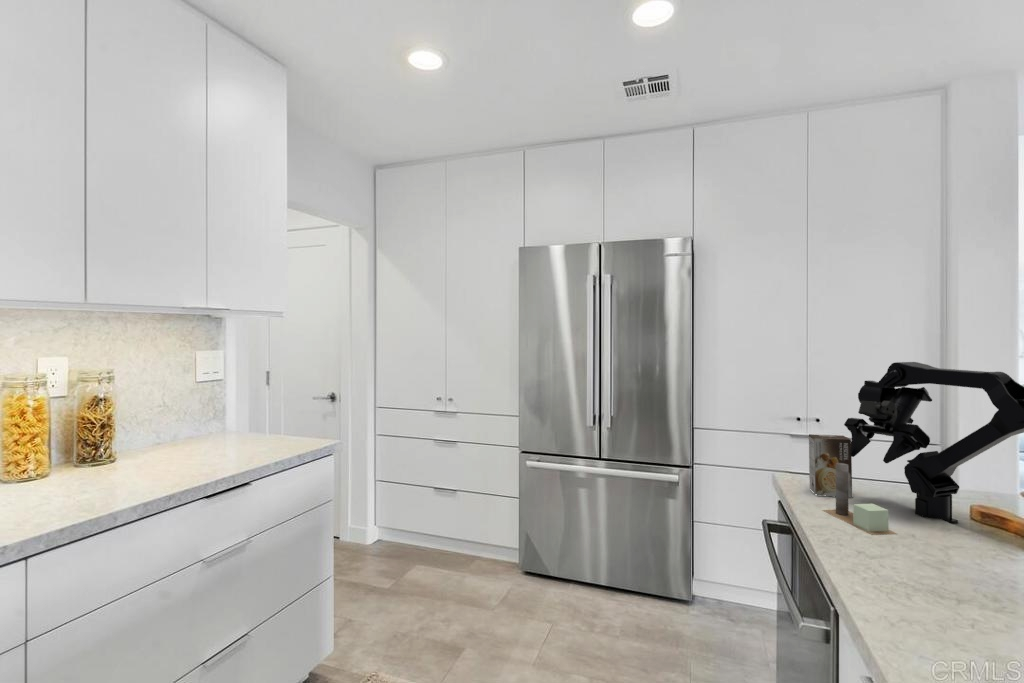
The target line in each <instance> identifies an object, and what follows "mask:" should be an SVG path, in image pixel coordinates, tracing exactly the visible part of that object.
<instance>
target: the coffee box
mask: <svg viewBox="0 0 1024 683" xmlns="http://www.w3.org/2000/svg"><path fill="white" fill-rule="evenodd" d="M851 441H852V438H851V439H850V438H849V437H847V436H845V435H836V434H835V435H834V434H811V433H809V434H808V464H809V465H808V470H809V490H810V489H811V490H812V491H813V492H814V494H817V495H826V496H836V463H844V464H848V498H849V499H852V498H853V469H852V468H853V467H852V466H853V464H852V463H853V462H852V460H853V457H852V456H851V455H850V448H851ZM811 490H810V491H811ZM814 494H813V495H814ZM826 496H825V497H826Z"/></svg>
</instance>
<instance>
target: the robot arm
mask: <svg viewBox="0 0 1024 683" xmlns="http://www.w3.org/2000/svg"><path fill="white" fill-rule="evenodd" d="M926 384H928V385H930V384H931V385H939V386H940V385H943V386H952V387H961V388H970V389H971V388H973V389H981V390H983V391H984V392H985V393H986V395H987V396H988V398H989V399H990V401H991V403H992V405H993V406H994V407H995V408H996V409H997V411H995V413H994V414H993V416H992V418H991V420H989V422H988V423H986V424H985V425H983V426H981V427H979V428H978V429H976V430H974V431H973V432H971V433H970V434H967V436H964V437H962V438H961V439H960V440H958V441H956V442H955V443H952V444H951V445H950V446H947V447H946V448H945V449H943V450H941V451H940V452H939V451H938V450H933V451H926V452H925V451H924V452H919V453H918V454H917V455H916V456H915V457H913V458H912V459H908V460H906V462H907V464H906V465H904V468H903V469H904V476H905V478H906V480H907V483H908V485H909V487H910V490H911V493H913V494H916V497H915V499H914V500H915V501H914V502H915V505H914V513H915V515H917V516H919V517H922V518H924V519H935V520H941V521H944V522H947V523H949V524H957V523H959V520H958V519H956V518H953V495H957V494H958V491H959V489H960V486H959V484H958V483H957V482H956V481H955V480H954V479H953V478H952V476H953V474H954V473H955V471H956V469H957V468H958V467H959V466H962V465H963V464H964V463H967V462H969V461H970V460H972V459H974V458H975V457H977V456H979V455H980V454H983V453H984V452H986V451H988V450H989V449H992V448H993V447H995V446H997V445H999V444H1000V443H1002V442H1004V441H1005V440H1008V439H1009V438H1011V437H1013V436H1016V435H1020V434H1024V386H1023V384H1021V383H1018V382H1017V381H1016V380H1015V379H1013V378H1012V377H1011V376H1010V375H1009V374H1008V373H1005V372H1003V371H982V370H980V371H979V370H968V369H955V368H954V369H952V368H938V367H934V366H932V365H930V364H926V363H922V362H917V361H900V362H898V361H897V362H893V363H891V364H890V365H889V366H888V368H887V371H886V373H885V374H884V375H883V376H882V377H881V378H880V380H879V381H875V380H864V384H863V385H862V386H861V387H860V390H859V391H858V392H857V398H858V401H859V403H860V406H859V408H858V414H860V415H864V416H867V417H869V418H868V420H869V422H870V423H873V424H869V423H868V422H867V421H866V420H865V419H864V418H860V417H859V418H857V417H848V418H847V419H846V421H845V422H844V424H843V426H845V427H846V428H847V430H848V431H849V432H850V434H851V448H850V455H851V458H854V457H855V456H857V455H858V454H859V453H860V452H861V451H862V450H863V449H864V448H866V446H868V445H869V444H870V443H872V440H871V439H873V438H874V437H875V434H876V435H881V436H888V437H893V438H892V442H891V444H890V446H889V448H888V449H887V452H885V454H884V458H883V459H882V461H883V462H884V464H889V463H890V462H893V461H894V460H897V459H899V458H901V457H903V456H905V455H907V454H910V453H911V452H915V451H919V450H921V449H927V448H928V446H929V444H930V443H931V437H930V436H929V434H927V433H926V432H925V431H924V430H923V429H922V428H921V427H920V426H919V425H918V424H913V423H914V421H915V420H914V419H913V418H912V416H913V414H914V413H915V411H916V410H917V408H918V407H919V405H920V404H921V402H922V401H923V402H930V403H931V402H933V399H932V398H931V396H930V394H929V391H928V389H926V387H925V386H922V387H919V388H917V387H916V388H914V387H907V386H911V385H912V386H913V385H926Z"/></svg>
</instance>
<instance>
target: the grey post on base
mask: <svg viewBox="0 0 1024 683" xmlns="http://www.w3.org/2000/svg"><path fill="white" fill-rule="evenodd" d="M849 499H850V498H848V464H844V463H836V497H835V509H822V511H823V512H825V513H827V514H829V516H830V515H831V516H833V517H835V518H837V519H839V520H841V521H843V522H844V523H846V524H849V525H851V526H852V527H855V528H857V529H859V530H860V531H863V532H865V533H866V534H868V535H871V536H883V535H898V533H897V532H895V531H893V530H890V529H889V531H877V532H868V531H866V530H864V529H862V528H860V527H858V526H856V525H854V524H853V511H850V510H849V505H850V504H849Z"/></svg>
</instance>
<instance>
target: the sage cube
mask: <svg viewBox="0 0 1024 683" xmlns="http://www.w3.org/2000/svg"><path fill="white" fill-rule="evenodd" d="M852 510H853V511H852V513H853V524H854V525H856V526H858V527H860V528H862V529H864V530H866V531H868V532H877V531H889V530H890V528H889V524H890V523H889V509H886V508H884V507H882V506H880V505H877V504H875V503H853V509H852Z"/></svg>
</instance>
